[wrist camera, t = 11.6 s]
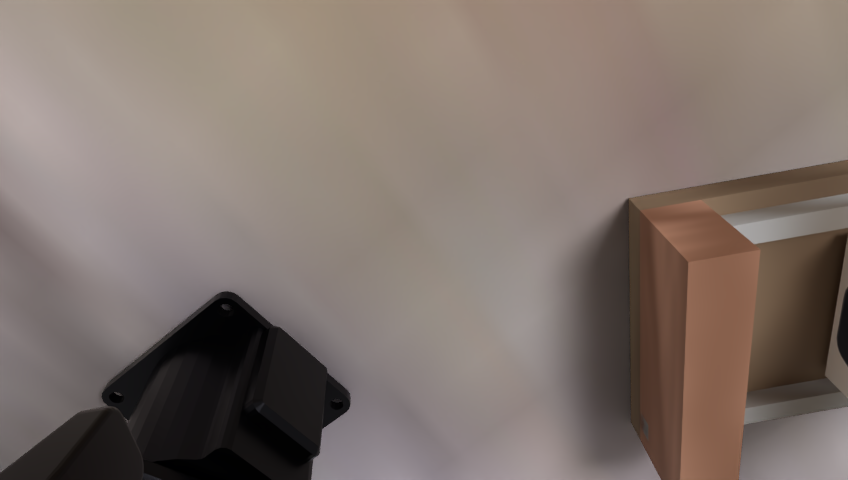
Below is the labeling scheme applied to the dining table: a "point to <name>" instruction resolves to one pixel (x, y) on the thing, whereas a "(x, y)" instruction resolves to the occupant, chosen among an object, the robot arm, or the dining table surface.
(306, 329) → the dining table surface
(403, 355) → the dining table surface
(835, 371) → the carriage
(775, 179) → the track
